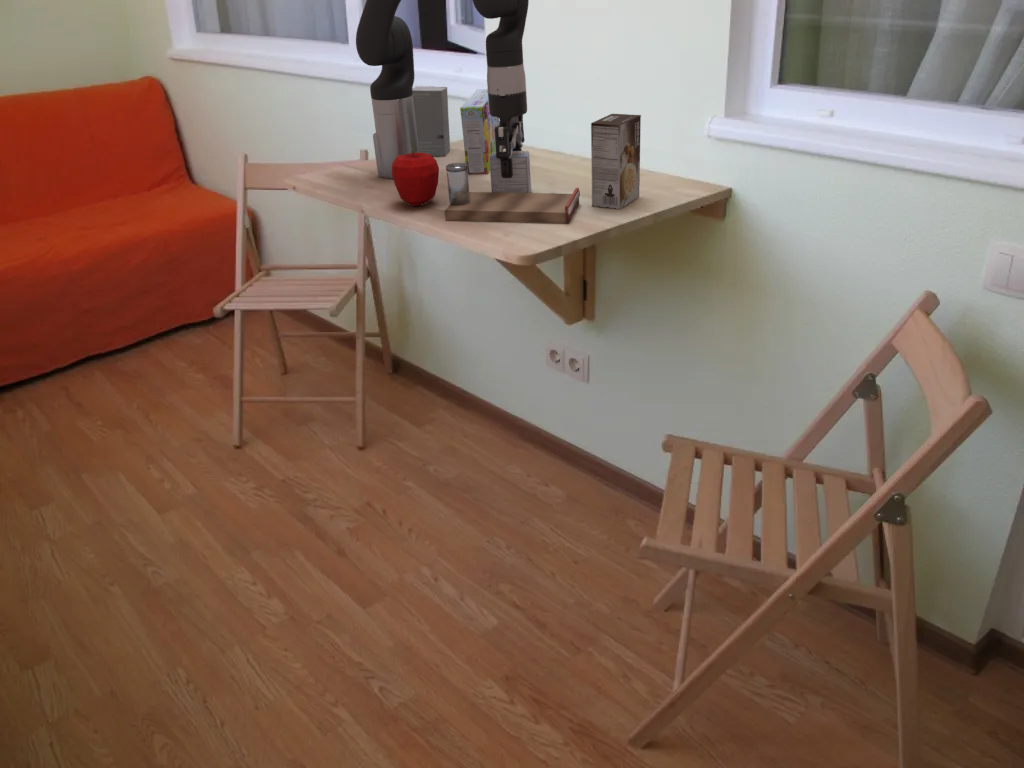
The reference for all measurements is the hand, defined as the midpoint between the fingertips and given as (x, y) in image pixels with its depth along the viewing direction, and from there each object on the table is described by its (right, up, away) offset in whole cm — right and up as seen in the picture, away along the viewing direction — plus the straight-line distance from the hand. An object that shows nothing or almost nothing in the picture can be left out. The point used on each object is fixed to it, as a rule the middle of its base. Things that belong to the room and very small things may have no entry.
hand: (512, 172), depth 167 cm
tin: (-10, -8, -7) cm, 15 cm away
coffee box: (+21, -7, -5) cm, 22 cm away
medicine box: (0, -4, +3) cm, 5 cm away
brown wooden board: (0, -10, -8) cm, 12 cm away
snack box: (-7, +9, +27) cm, 30 cm away
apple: (-19, -6, +1) cm, 20 cm away
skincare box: (-20, +14, +38) cm, 45 cm away
